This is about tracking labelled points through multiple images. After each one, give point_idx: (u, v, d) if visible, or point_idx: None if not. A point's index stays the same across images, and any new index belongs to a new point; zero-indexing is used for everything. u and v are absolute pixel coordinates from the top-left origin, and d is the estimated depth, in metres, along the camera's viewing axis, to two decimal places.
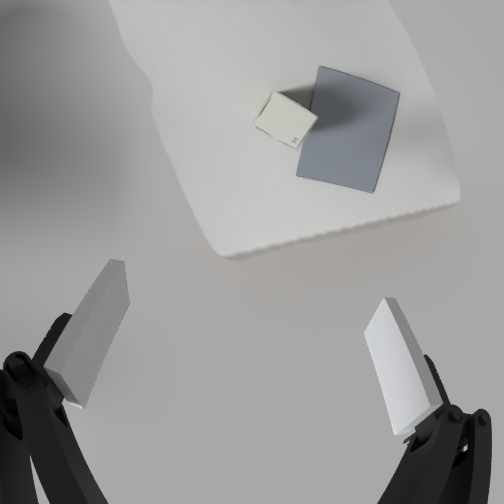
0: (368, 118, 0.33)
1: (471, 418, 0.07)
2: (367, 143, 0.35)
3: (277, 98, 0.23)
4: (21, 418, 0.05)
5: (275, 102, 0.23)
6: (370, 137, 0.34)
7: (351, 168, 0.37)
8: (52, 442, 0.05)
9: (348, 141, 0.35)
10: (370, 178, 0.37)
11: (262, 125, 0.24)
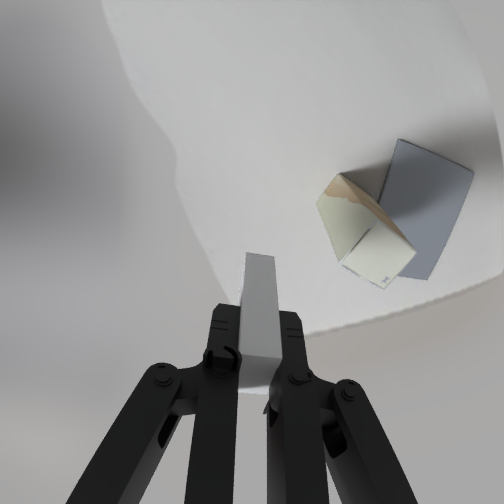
0: (440, 204, 0.27)
1: (331, 397, 0.08)
2: (433, 231, 0.29)
3: (377, 230, 0.17)
4: (196, 405, 0.07)
5: (374, 236, 0.17)
6: (437, 225, 0.28)
7: (412, 258, 0.31)
8: (226, 441, 0.06)
9: (415, 231, 0.29)
10: (428, 266, 0.32)
11: (351, 264, 0.19)
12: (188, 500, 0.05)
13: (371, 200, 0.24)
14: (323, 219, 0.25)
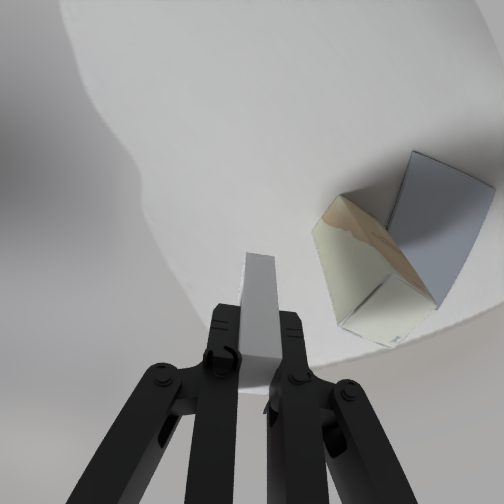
0: (457, 227, 0.22)
1: (331, 397, 0.08)
2: (448, 258, 0.24)
3: (391, 286, 0.12)
4: (196, 405, 0.07)
5: (386, 293, 0.13)
6: (453, 250, 0.23)
7: None
8: (226, 441, 0.06)
9: (428, 259, 0.24)
10: (440, 296, 0.27)
11: (354, 327, 0.14)
12: (188, 500, 0.05)
13: (380, 230, 0.19)
14: (320, 255, 0.20)
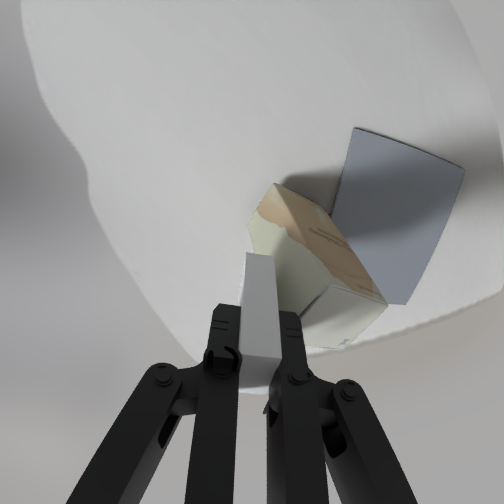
0: (419, 212, 0.22)
1: (331, 397, 0.08)
2: (411, 247, 0.24)
3: (330, 297, 0.12)
4: (197, 405, 0.07)
5: (325, 304, 0.12)
6: (416, 238, 0.23)
7: (383, 281, 0.26)
8: (226, 441, 0.06)
9: (386, 247, 0.24)
10: (406, 289, 0.26)
11: None
12: (188, 500, 0.05)
13: (321, 219, 0.19)
14: None
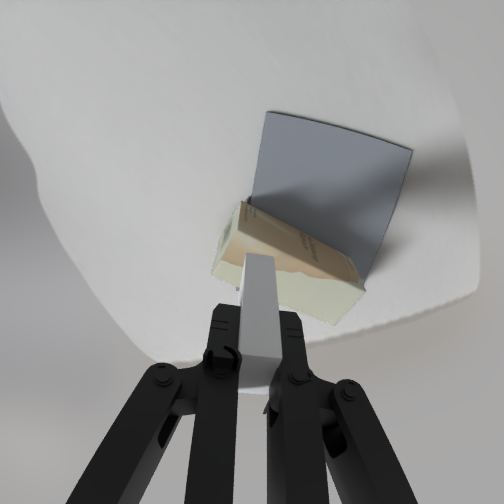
0: (354, 199, 0.21)
1: (331, 397, 0.08)
2: (350, 239, 0.23)
3: None
4: (197, 405, 0.07)
5: None
6: (356, 229, 0.23)
7: None
8: (226, 441, 0.06)
9: (318, 239, 0.23)
10: None
11: None
12: (188, 500, 0.05)
13: (280, 229, 0.21)
14: None
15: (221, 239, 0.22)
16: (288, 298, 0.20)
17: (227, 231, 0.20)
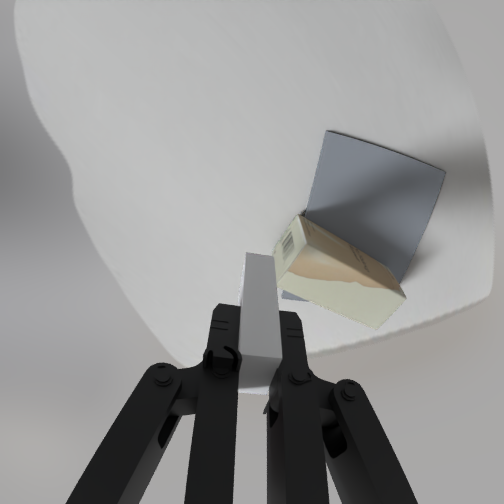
0: (396, 215, 0.22)
1: (331, 397, 0.08)
2: (389, 250, 0.24)
3: None
4: (197, 405, 0.07)
5: None
6: (395, 242, 0.24)
7: None
8: (226, 441, 0.06)
9: (362, 251, 0.24)
10: None
11: None
12: (188, 500, 0.05)
13: (335, 242, 0.22)
14: (319, 304, 0.21)
15: (278, 250, 0.23)
16: (342, 306, 0.21)
17: (288, 243, 0.21)
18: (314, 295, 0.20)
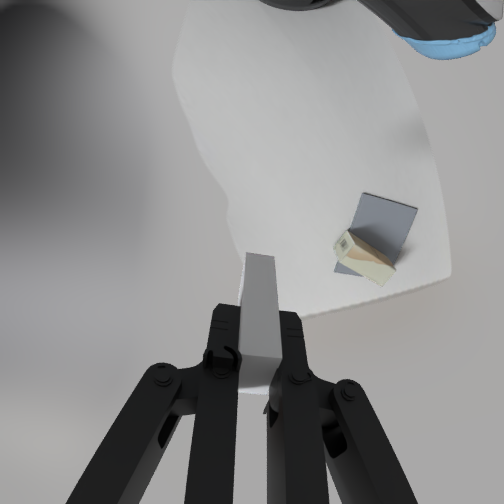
0: (391, 230, 0.47)
1: (331, 397, 0.08)
2: (387, 248, 0.48)
3: None
4: (197, 405, 0.07)
5: None
6: (390, 243, 0.48)
7: None
8: (226, 441, 0.06)
9: None
10: None
11: None
12: (188, 500, 0.05)
13: (363, 243, 0.46)
14: (357, 271, 0.45)
15: (338, 247, 0.47)
16: (366, 272, 0.45)
17: (344, 244, 0.45)
18: (355, 267, 0.45)
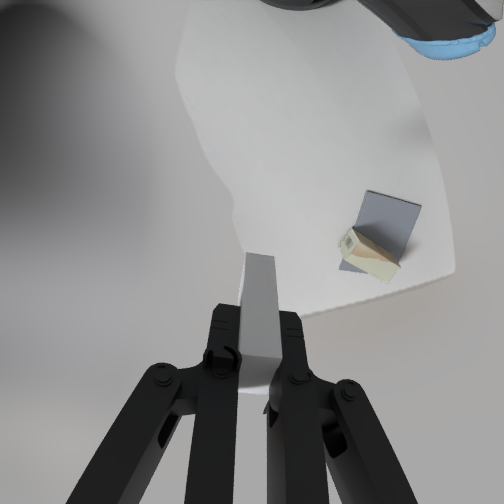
0: (395, 228, 0.47)
1: (331, 397, 0.08)
2: (392, 245, 0.48)
3: None
4: (197, 405, 0.07)
5: None
6: (394, 240, 0.48)
7: None
8: (226, 441, 0.06)
9: (379, 245, 0.49)
10: None
11: None
12: (188, 500, 0.05)
13: (368, 240, 0.46)
14: (362, 268, 0.45)
15: (343, 244, 0.47)
16: (371, 270, 0.45)
17: (348, 241, 0.45)
18: (360, 264, 0.45)
